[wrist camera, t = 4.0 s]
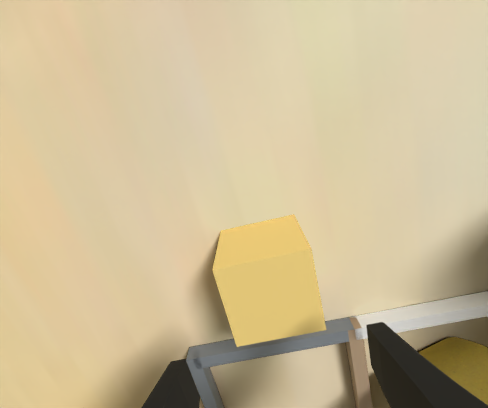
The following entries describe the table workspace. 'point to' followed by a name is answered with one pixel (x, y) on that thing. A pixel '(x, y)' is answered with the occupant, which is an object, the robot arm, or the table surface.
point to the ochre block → (268, 281)
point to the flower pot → (462, 363)
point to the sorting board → (334, 342)
